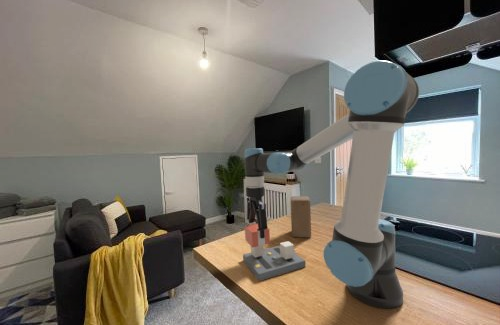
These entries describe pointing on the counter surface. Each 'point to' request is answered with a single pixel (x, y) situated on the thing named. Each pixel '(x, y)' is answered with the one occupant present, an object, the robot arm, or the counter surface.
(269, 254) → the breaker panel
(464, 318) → the counter surface
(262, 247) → the block
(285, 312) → the counter surface
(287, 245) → the block
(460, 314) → the counter surface
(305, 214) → the wooden block
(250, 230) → the cap
